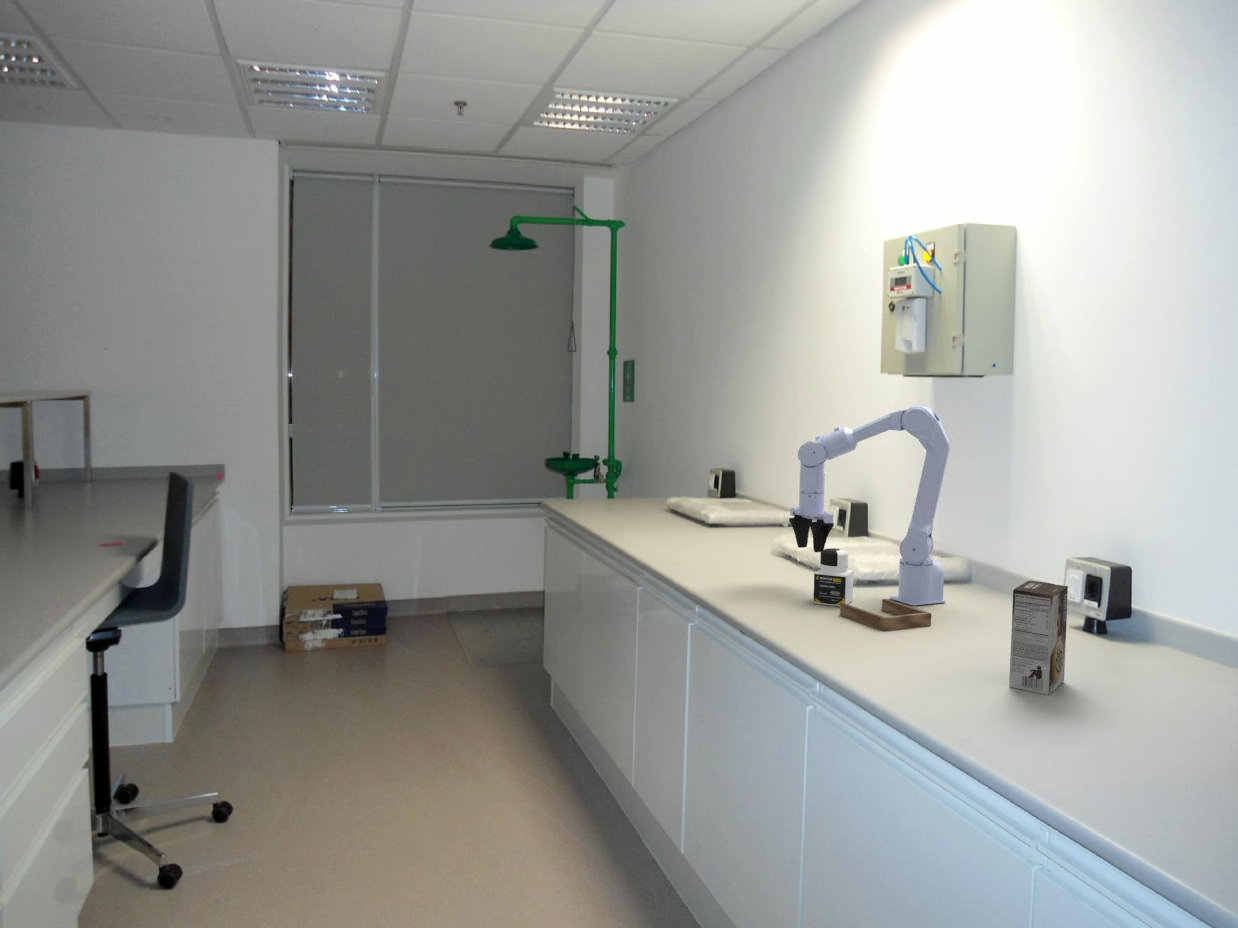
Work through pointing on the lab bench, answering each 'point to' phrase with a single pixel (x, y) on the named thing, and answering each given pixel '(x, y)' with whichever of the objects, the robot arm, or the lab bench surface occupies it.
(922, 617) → the frame
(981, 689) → the lab bench surface
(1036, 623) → the coffee box
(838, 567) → the medicine bottle
